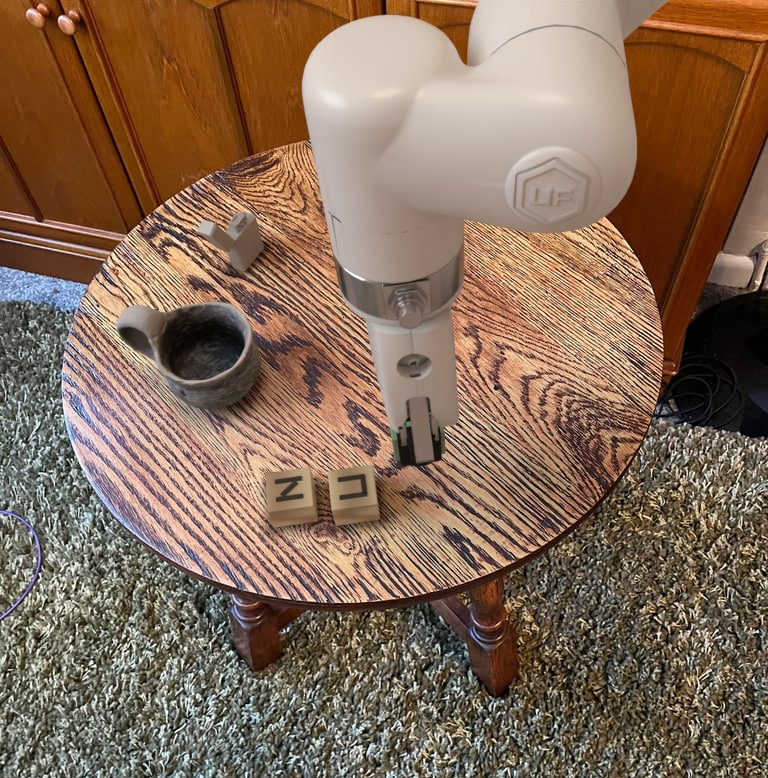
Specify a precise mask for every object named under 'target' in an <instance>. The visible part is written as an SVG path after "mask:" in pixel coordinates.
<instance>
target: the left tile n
mask: <svg viewBox="0 0 768 778" xmlns="http://www.w3.org/2000/svg"><path fill="white" fill-rule="evenodd" d="M316 487H317V486H316V481H315V479H314V475H313V472H312V468H311V467H310V466H307V467H306V466H305V467H301V468H300V467H299V468H295V469H294V468H293V469H287V470H286V469H285V470H280V471H272V472H266V473H265V488H266V490H265V491H266V506H267V507H266V509H267V514H268V516H269V518H270V521H271V523H272V525H273V527H274V528H282V527H289V526H297V525H302V524H311V523H318V522H319V513H318V512H319V511H318V510H319V509H318V501H317V488H316Z"/></svg>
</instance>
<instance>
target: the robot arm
mask: <svg viewBox="0 0 768 778" xmlns="http://www.w3.org/2000/svg"><path fill="white" fill-rule="evenodd" d="M669 1H670V0H478V1H477V3H476V6H475V9H474V12H473V15H472V18H471V21H470V25H469V32H468V41H467V54H466V55H467V57H466V58H467V59H466V64H465V63H463V61H462V59H461V56H460V55H459V52H458V50H457V48H456V46H455V44H454V43H453V41H452V40H451V39H450V38H449V37H448V35H446V34H445V33H444V31H442V30H441V29H439V28H438V27H437V26H434V25H433V24H431V23H429V22H426V21H424V20H422V19H419V18H417V17H412V16H408V15H400V14H381V15H380V14H379V15H373V16H367V17H363V18H359V19H356V20H352V21H351V22H348V23H345V24H343V25H341V26H339V27H338V28H336V29H334V30H333V31H332V32H330V33H329V34H327V35H326V36H325V37H324V38H323V39H322V40H321V41H320V42H318V43H317V44H316V45H315V47H314V48H313V49H312V51H311V53H310V55H309V56H308V59H307V61H306V63H305V66H304V69H303V75H302V80H301V97H302V104H303V110H304V115H305V116H304V117H305V121H306V126H307V131H308V135H309V136H308V137H309V140H310V147H311V151H312V155H313V157H312V158H313V162H314V166H315V167H314V168H315V171H316V177H317V181H318V186H319V192H320V197H321V201H322V207H323V211H324V216H325V221H326V222H325V223H326V226H327V232H328V237H329V241H330V246H331V253H332V259H333V262H334V268H335V273H336V278H337V279H336V280H337V284H338V288H339V292H340V293H339V294H340V295H341V297H342V300H343V302H344V303H345V305H346V307H348V308H349V310H351V312H353V313H354V314H356V315H357V316H358V317H359V318H362V319H363V320H365V325H366V331H367V337H368V341H369V347H370V352H371V357H372V362H373V366H374V370H375V374H376V377H377V378H376V379H377V383H378V386H379V390H380V395H381V399H382V402H383V406H384V411H385V414H386V419H387V421H388V426H389V429H390V428H391V429H392V430H393V431H395V432H397V433H396V434H397V441H398V449H399V456H400V461H399V462H400V466H402V467H410V466H414V467H417V468H419V467H427V466H429V465H431V464H432V463H436V462H440V461H441V460H442V459H443V454H442V449H441V431H440V426H438V423H439V424H440V425H441V426H443V427H444V428H446V427H452V426H455V425H456V424H457V423H458V421H459V419H460V407H459V392H458V375H457V359H456V344H455V332H454V320H453V313H452V305H453V304H454V303H455V301H457V299H458V297H459V296H460V294H461V292H462V290H463V287H464V285H465V284H464V283H465V221H469V222H474V223H479V224H484V225H489V226H493V227H497V228H502V229H507V230H513V231H518V232H525V233H534V234H561V233H566V232H567V233H569V232H573V231H574V232H575V231H577V230H578V231H579V230H581V229H584V228H587V227H590V226H591V225H593V224H595V223H597V222H599V221H601V220H602V219H605V217H607V216H608V215H609V214H610V213H611V212H612V211H613V210H615V208H616V207H617V206H619V204H620V203H621V201H622V200H623V199H624V197H625V196H626V194H627V192H628V190H629V188H630V186H631V184H632V182H633V179H634V176H635V170H636V166H637V160H638V136H637V128H636V121H635V114H634V108H633V103H632V102H633V101H632V95H631V89H630V79H629V71H628V65H627V64H628V63H627V58H626V52H625V51H626V50H625V45H624V40H626V39H627V38H628V37H629V36H630V35H631V34H633V32H635V31H636V30H637V29H638V28H639V27H640V26H641V25H642V24H643V23H645V22H646V21H647V20H648V19H649V18H650V17H651V16H652V15H654V14H655V13H657V11H659V10H660V9H661V8H662V7H663V6H664V5H666V3H668V2H669ZM408 421H411V426H409V427H406V422H408ZM399 430H400V431H399Z"/></svg>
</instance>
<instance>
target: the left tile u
mask: <svg viewBox="0 0 768 778" xmlns="http://www.w3.org/2000/svg"><path fill="white" fill-rule="evenodd" d="M373 466H374V465H373V464H369V465H362V466H354V467H347V468H340V469H333V470H328V471H327V478H328V479H327V480H328V489H329V499H330V509H331V513H332V517H333V521H334V523H335V526H336V527H338V526H346V525H353V524H360V523H367V522H368V523H369V522H373V521H374V522H375V521H380V520H381V513H380V506H379V498H378V490H377V482H376V477H375V471H374V467H373Z"/></svg>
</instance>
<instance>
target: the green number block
mask: <svg viewBox="0 0 768 778" xmlns="http://www.w3.org/2000/svg"><path fill="white" fill-rule="evenodd" d="M409 426H411V421H408V422H406V427H409ZM438 426H440V431H441V449H442V455H445V454H447V453H446V451H447V450H446V432H445V431H446V430H445V427H443V426H441V425H440V424H439V423H438ZM389 431H390V438H391V443H392V445H391V446H392V452H393V457H394V462H398V461H399V462H400V456H399V449H398V441H397V434H396V433H397V432H395V431H393V430H392V429H391V428H390V427H389ZM399 431H400V430H399Z"/></svg>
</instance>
